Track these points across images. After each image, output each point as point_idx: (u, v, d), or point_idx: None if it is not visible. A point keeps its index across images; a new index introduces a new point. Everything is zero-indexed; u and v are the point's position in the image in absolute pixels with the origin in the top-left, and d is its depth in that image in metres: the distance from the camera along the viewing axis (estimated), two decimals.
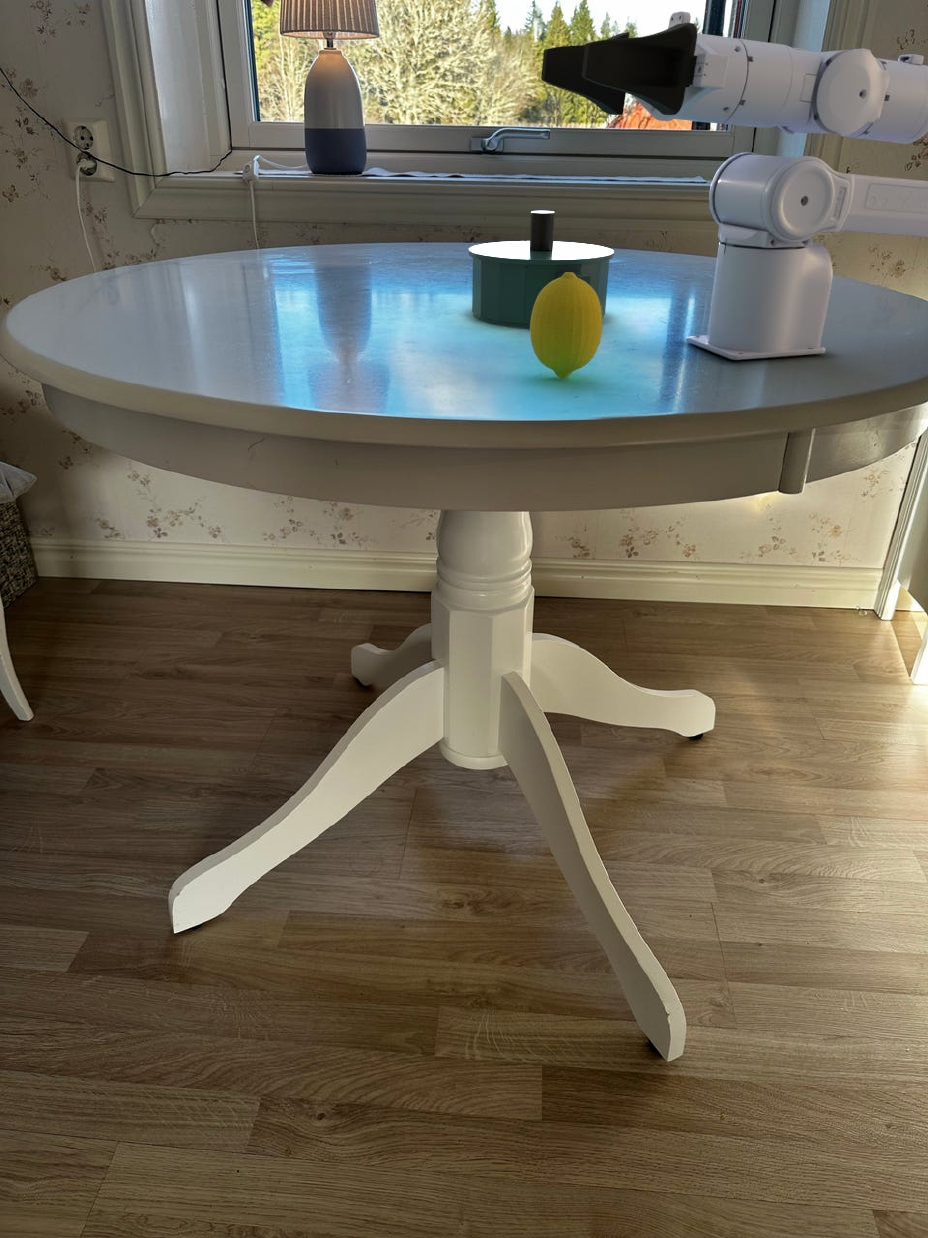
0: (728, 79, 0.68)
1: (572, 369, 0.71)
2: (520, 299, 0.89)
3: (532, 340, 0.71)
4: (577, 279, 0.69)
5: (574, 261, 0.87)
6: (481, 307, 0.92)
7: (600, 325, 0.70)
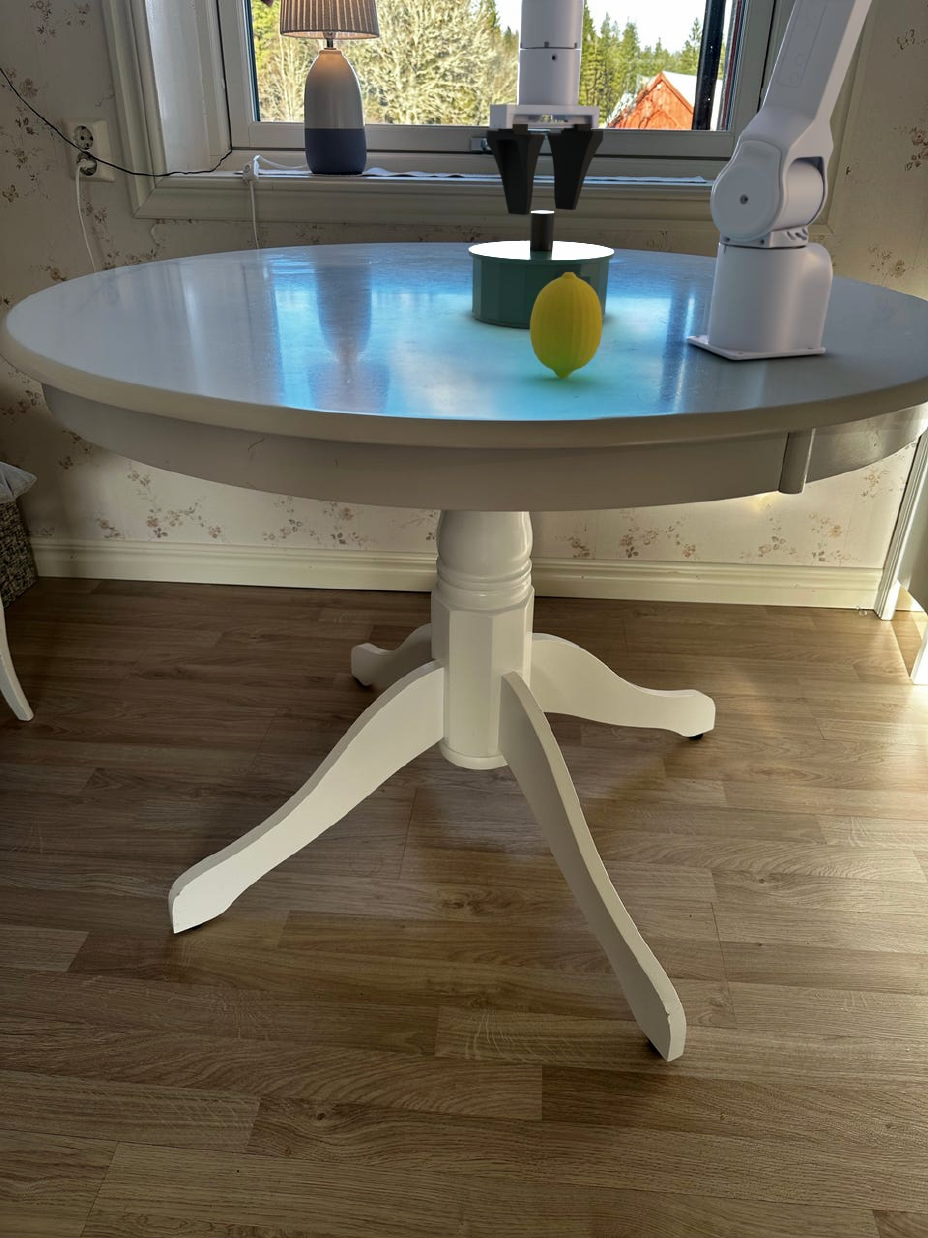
0: (530, 67, 0.83)
1: (572, 369, 0.71)
2: (520, 299, 0.89)
3: (532, 340, 0.71)
4: (577, 279, 0.69)
5: (574, 261, 0.87)
6: (481, 307, 0.92)
7: (600, 325, 0.70)
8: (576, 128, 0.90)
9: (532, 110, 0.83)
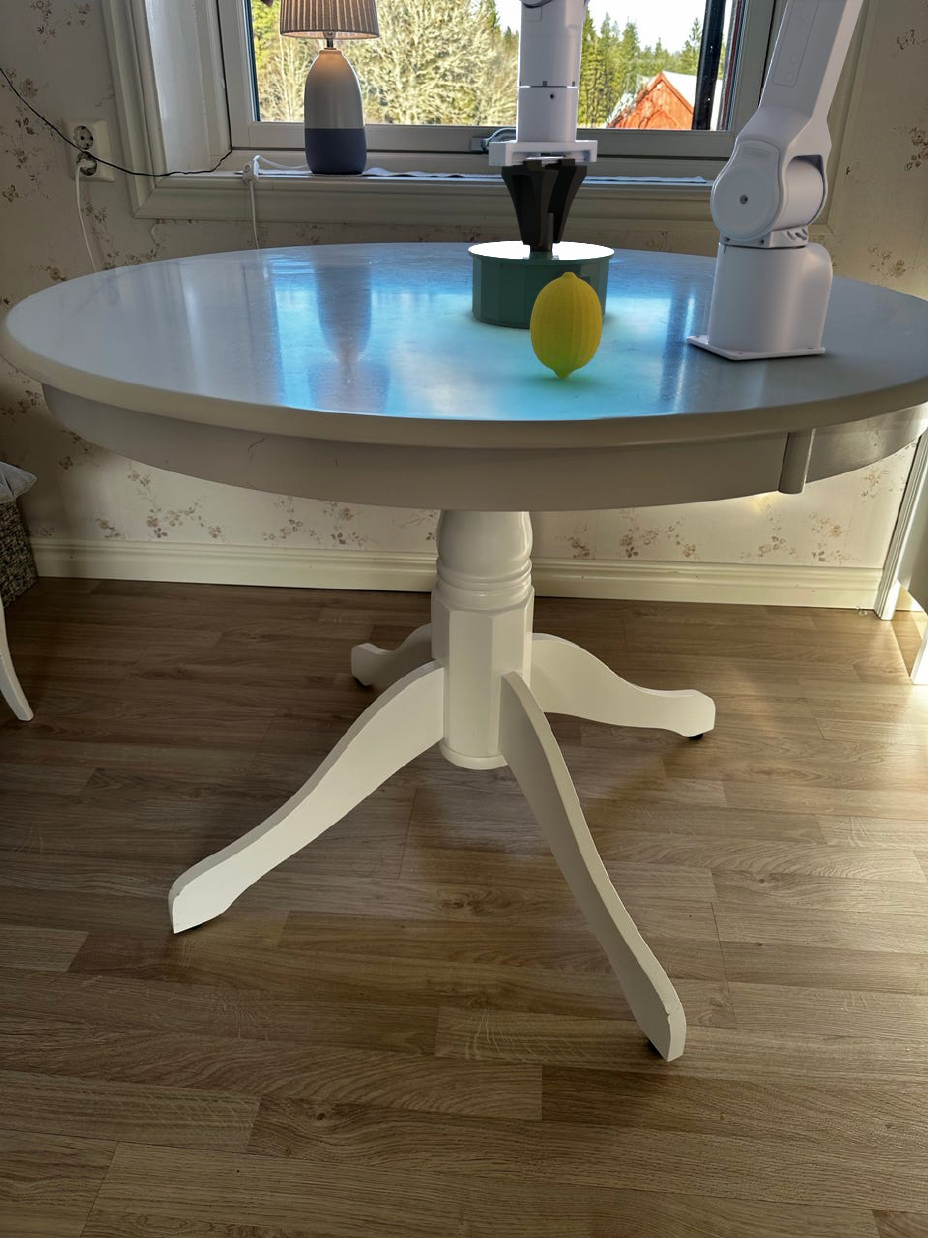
0: (529, 105, 0.85)
1: (572, 369, 0.71)
2: (520, 299, 0.89)
3: (532, 340, 0.71)
4: (577, 279, 0.69)
5: (574, 261, 0.87)
6: (481, 307, 0.92)
7: (600, 325, 0.70)
8: (560, 163, 0.90)
9: (531, 148, 0.85)
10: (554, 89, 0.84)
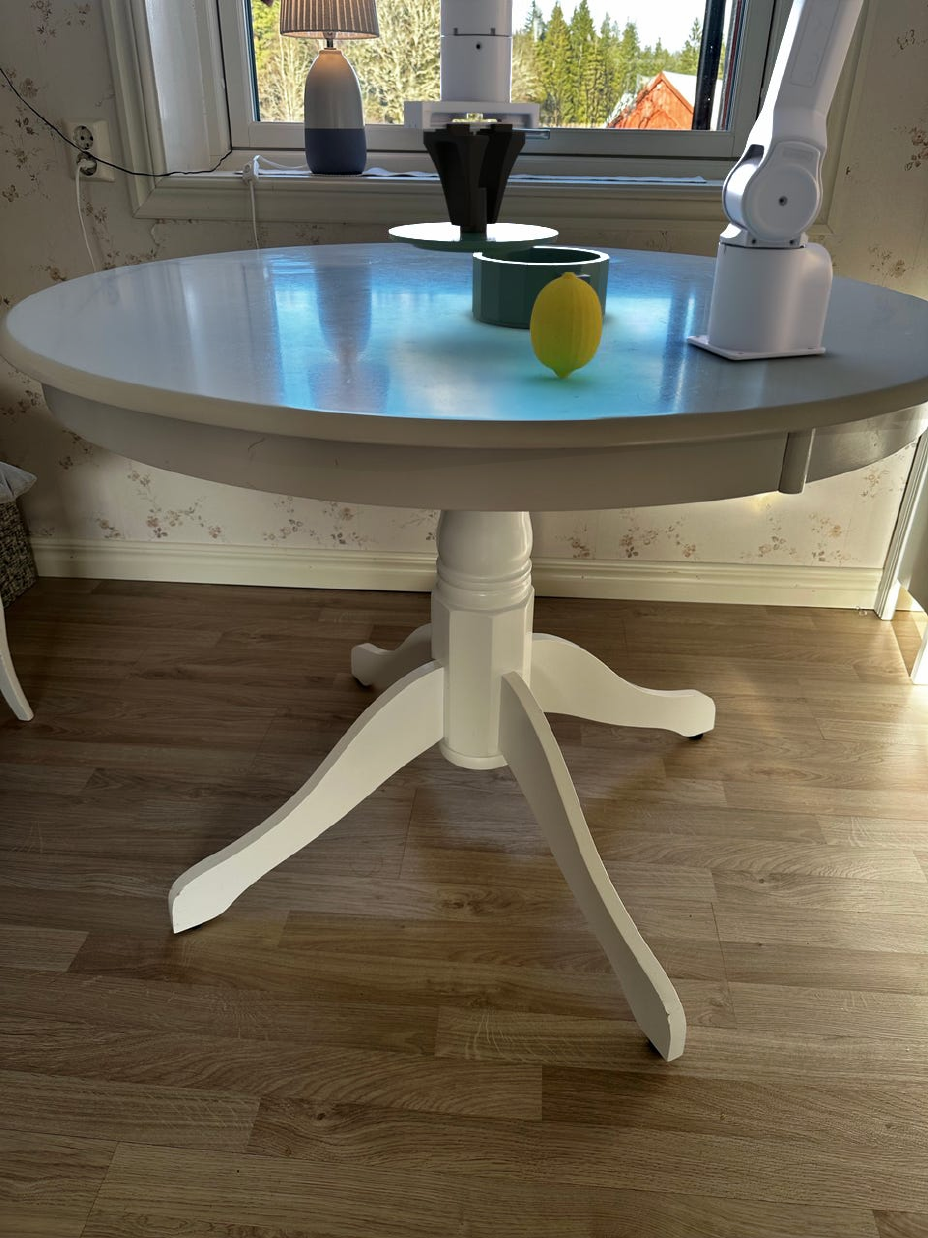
0: (452, 58, 0.71)
1: (572, 369, 0.71)
2: (520, 299, 0.89)
3: (532, 340, 0.71)
4: (577, 279, 0.69)
5: (507, 243, 0.74)
6: (481, 307, 0.92)
7: (600, 325, 0.70)
8: (493, 129, 0.76)
9: (454, 108, 0.71)
10: (481, 37, 0.70)
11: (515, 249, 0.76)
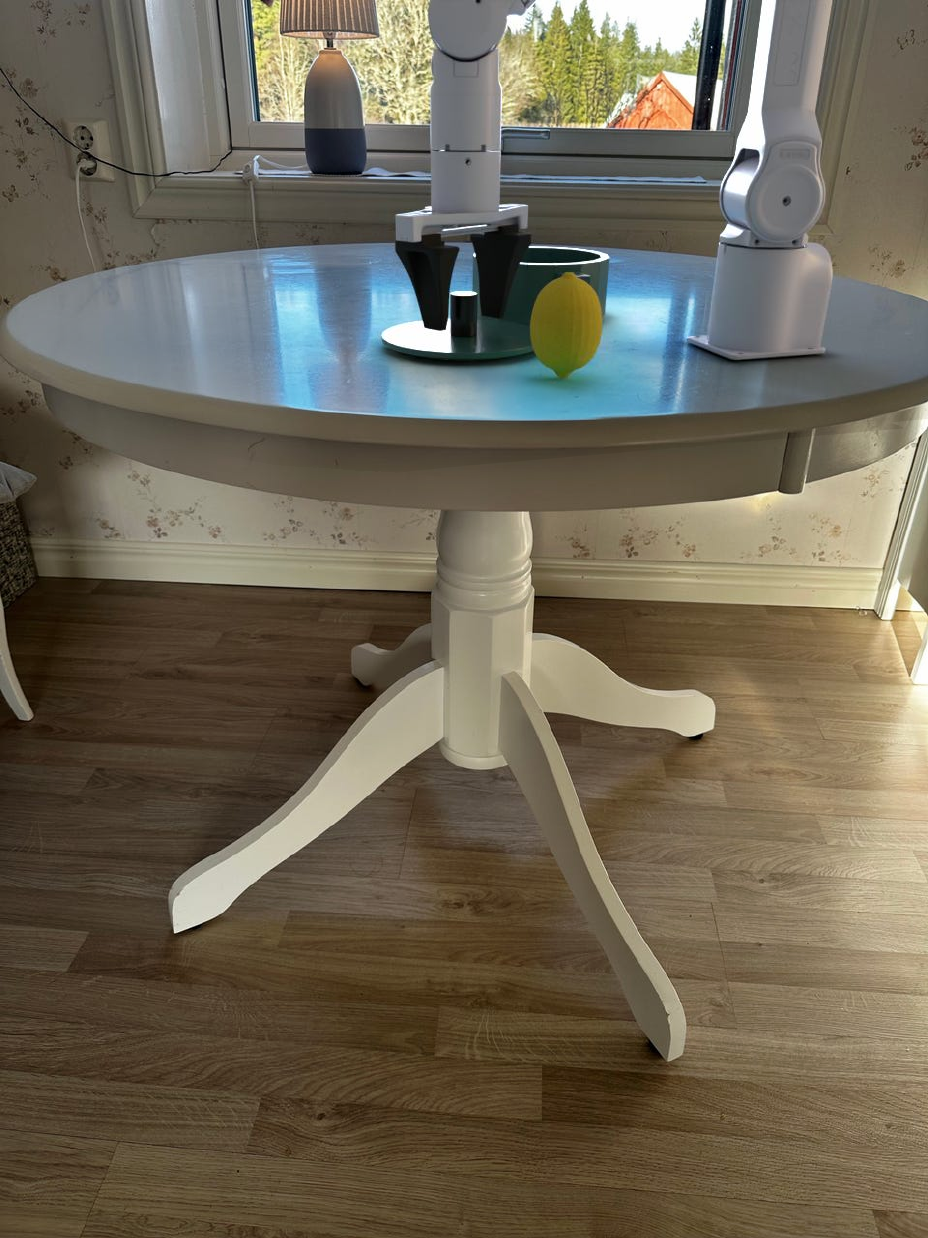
0: (442, 171, 0.74)
1: (572, 369, 0.71)
2: (520, 299, 0.89)
3: (532, 340, 0.71)
4: (577, 279, 0.69)
5: (495, 354, 0.76)
6: None
7: (600, 325, 0.70)
8: (500, 231, 0.80)
9: (444, 220, 0.74)
10: (470, 154, 0.73)
11: None
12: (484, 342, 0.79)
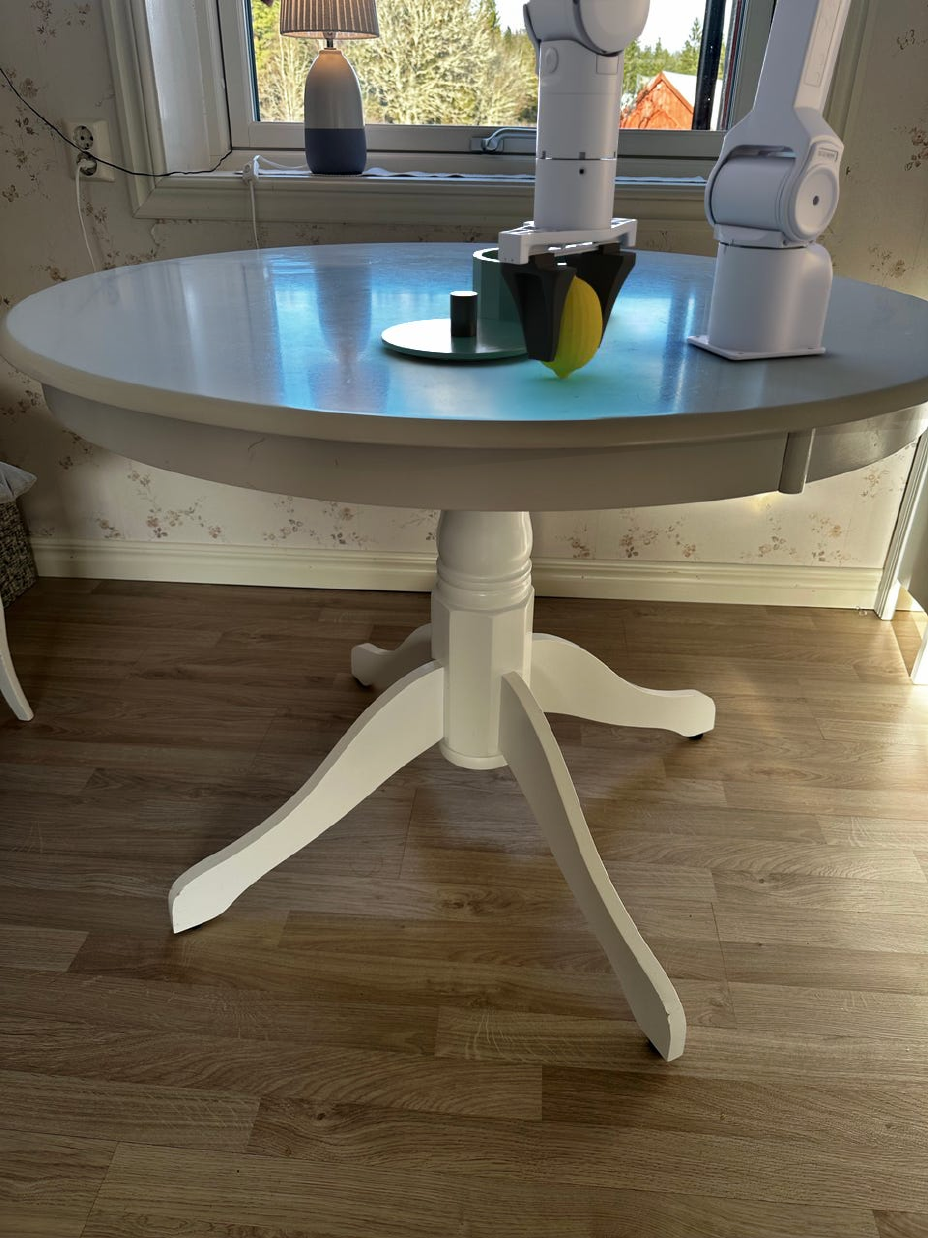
0: (551, 183, 0.64)
1: (572, 369, 0.71)
2: None
3: None
4: (577, 279, 0.69)
5: (495, 354, 0.76)
6: (481, 307, 0.92)
7: (600, 325, 0.70)
8: (601, 251, 0.70)
9: (554, 239, 0.64)
10: (585, 162, 0.63)
11: None
12: (484, 342, 0.79)
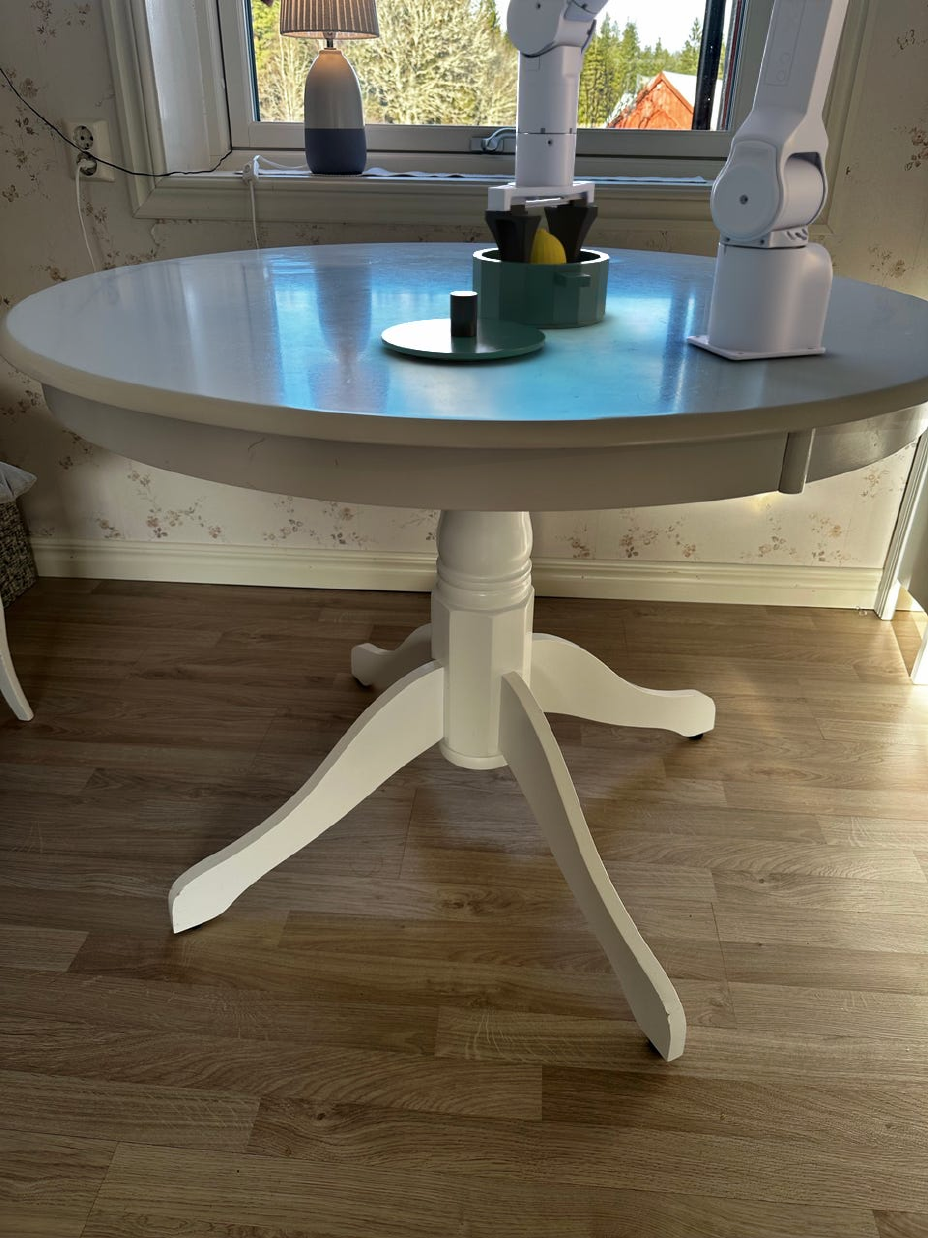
0: (527, 151, 0.87)
1: None
2: (520, 299, 0.89)
3: None
4: (547, 233, 0.92)
5: (495, 354, 0.76)
6: (481, 307, 0.92)
7: None
8: (572, 204, 0.93)
9: (529, 192, 0.86)
10: (552, 136, 0.85)
11: None
12: (484, 342, 0.79)
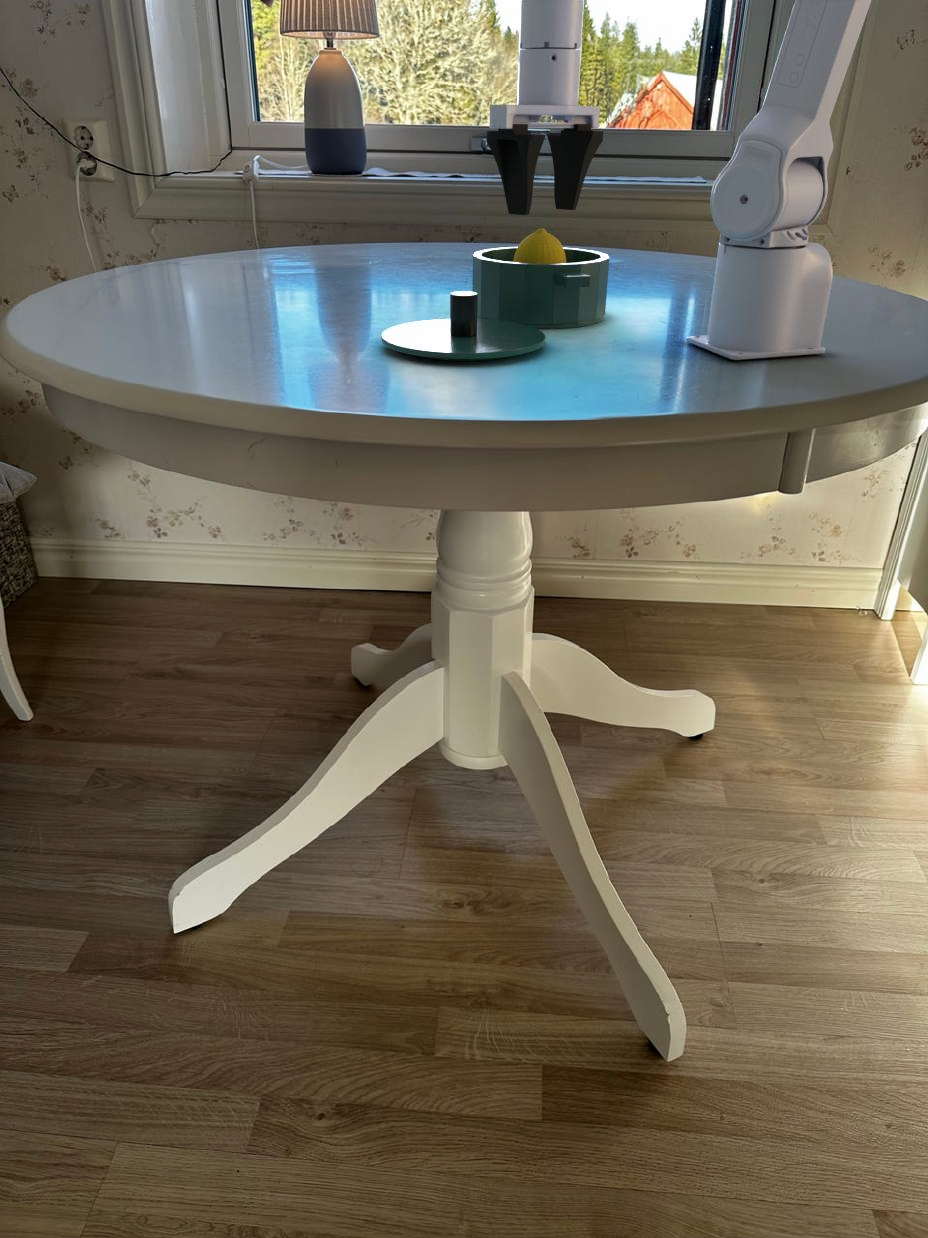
0: (530, 67, 0.83)
1: None
2: (520, 299, 0.89)
3: None
4: (547, 233, 0.92)
5: (495, 354, 0.76)
6: (481, 307, 0.92)
7: None
8: (576, 128, 0.90)
9: (532, 110, 0.83)
10: (556, 50, 0.82)
11: None
12: (484, 342, 0.79)
